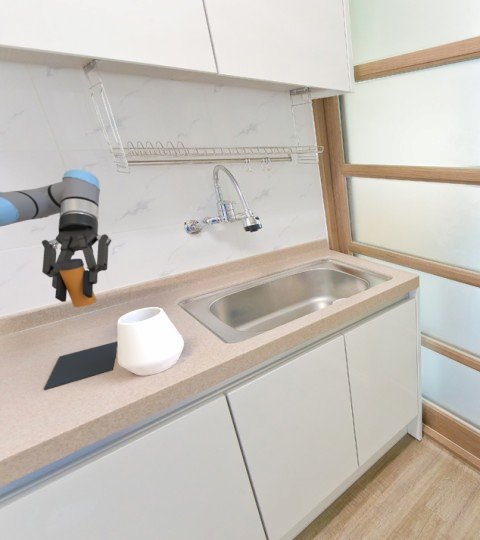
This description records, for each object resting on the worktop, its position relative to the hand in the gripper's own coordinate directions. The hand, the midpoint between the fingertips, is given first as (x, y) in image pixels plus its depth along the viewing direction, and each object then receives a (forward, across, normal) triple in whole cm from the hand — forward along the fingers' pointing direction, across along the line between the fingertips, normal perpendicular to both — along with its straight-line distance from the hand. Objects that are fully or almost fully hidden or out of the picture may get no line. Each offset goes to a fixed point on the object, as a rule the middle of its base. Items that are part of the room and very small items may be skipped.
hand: (74, 297), depth 81 cm
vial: (0, 0, -5) cm, 5 cm away
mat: (+14, +2, -10) cm, 17 cm away
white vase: (+20, -15, -4) cm, 26 cm away
